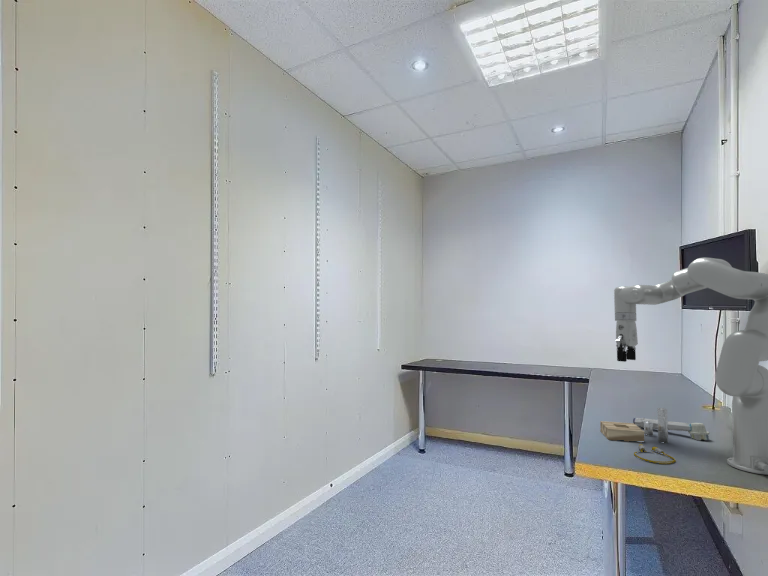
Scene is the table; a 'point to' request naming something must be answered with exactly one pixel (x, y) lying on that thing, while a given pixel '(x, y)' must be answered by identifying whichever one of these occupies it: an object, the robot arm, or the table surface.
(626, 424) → the bored block
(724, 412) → the table surface
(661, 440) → the long pin
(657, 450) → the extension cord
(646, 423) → the short pin
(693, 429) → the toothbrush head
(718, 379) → the robot arm
